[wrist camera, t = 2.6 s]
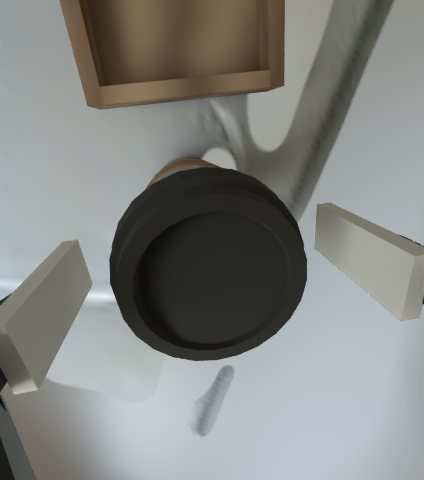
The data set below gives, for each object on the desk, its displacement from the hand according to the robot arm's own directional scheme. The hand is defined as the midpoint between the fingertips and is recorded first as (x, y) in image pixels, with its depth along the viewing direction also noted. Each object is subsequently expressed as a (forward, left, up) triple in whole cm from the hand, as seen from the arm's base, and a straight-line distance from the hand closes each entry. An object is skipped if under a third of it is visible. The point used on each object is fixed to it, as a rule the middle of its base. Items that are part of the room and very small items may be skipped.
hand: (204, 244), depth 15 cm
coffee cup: (0, 0, -10) cm, 10 cm away
